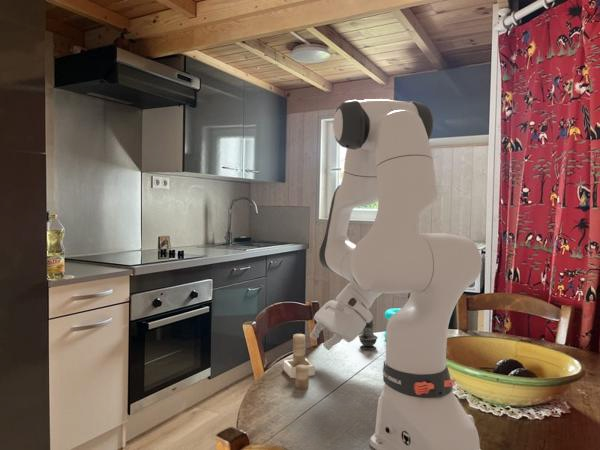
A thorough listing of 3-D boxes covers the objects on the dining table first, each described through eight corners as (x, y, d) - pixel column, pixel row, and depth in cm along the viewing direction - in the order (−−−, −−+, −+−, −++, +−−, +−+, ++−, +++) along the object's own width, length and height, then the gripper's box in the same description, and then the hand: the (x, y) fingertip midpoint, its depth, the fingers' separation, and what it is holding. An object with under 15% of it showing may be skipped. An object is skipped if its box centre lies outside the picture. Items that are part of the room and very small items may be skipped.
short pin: (310, 388, 108) (310, 368, 108) (298, 390, 107) (298, 369, 107) (305, 383, 111) (305, 364, 111) (293, 385, 110) (293, 365, 110)
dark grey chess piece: (376, 345, 143) (377, 308, 142) (378, 351, 137) (378, 312, 136) (358, 345, 143) (358, 308, 143) (358, 350, 137) (359, 312, 137)
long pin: (306, 373, 118) (306, 336, 118) (295, 375, 117) (295, 337, 116) (302, 369, 121) (302, 333, 121) (291, 371, 120) (291, 334, 119)
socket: (314, 375, 117) (314, 365, 117) (291, 378, 115) (291, 368, 115) (305, 366, 123) (305, 357, 123) (283, 369, 121) (283, 360, 121)
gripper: (328, 290, 132) (297, 325, 129) (361, 304, 113) (325, 346, 110) (342, 304, 134) (312, 339, 131) (376, 320, 115) (342, 361, 112)
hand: (318, 342), depth 121 cm, fingers open, 8 cm apart
